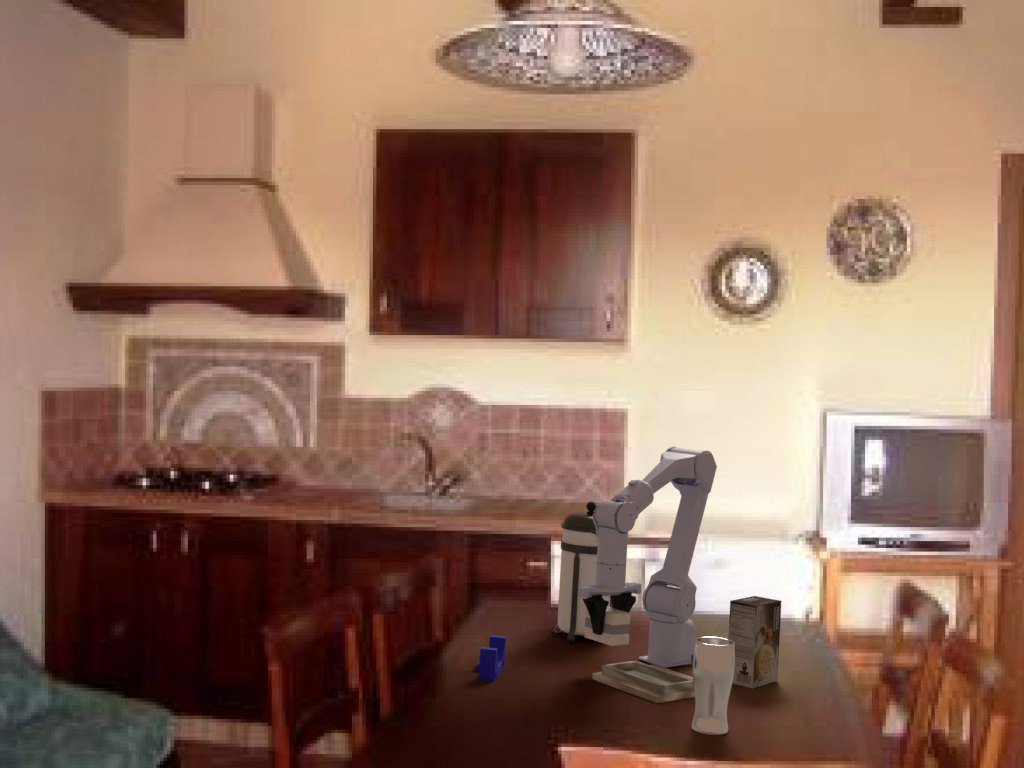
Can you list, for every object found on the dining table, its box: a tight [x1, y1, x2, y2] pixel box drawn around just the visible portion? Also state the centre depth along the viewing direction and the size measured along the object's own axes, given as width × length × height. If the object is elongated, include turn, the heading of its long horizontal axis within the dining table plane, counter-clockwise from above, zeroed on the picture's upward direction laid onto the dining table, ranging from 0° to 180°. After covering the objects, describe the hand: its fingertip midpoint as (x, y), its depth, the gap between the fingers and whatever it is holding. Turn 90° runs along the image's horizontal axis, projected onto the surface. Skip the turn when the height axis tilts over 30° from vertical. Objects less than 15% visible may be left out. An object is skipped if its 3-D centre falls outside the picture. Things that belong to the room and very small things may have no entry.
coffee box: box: [727, 595, 783, 690], centre depth 242 cm, size 9×6×16 cm
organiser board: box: [591, 654, 695, 704], centre depth 235 cm, size 16×18×7 cm
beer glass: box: [691, 636, 735, 736], centre depth 209 cm, size 7×7×15 cm
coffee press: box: [552, 501, 612, 644], centre depth 275 cm, size 17×16×30 cm
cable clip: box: [476, 634, 507, 682], centre depth 239 cm, size 12×4×6 cm, turn 171°
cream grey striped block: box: [584, 607, 631, 647], centre depth 241 cm, size 4×8×6 cm, turn 36°
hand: (607, 632), depth 241 cm, fingers closed on cream grey striped block, 4 cm apart
